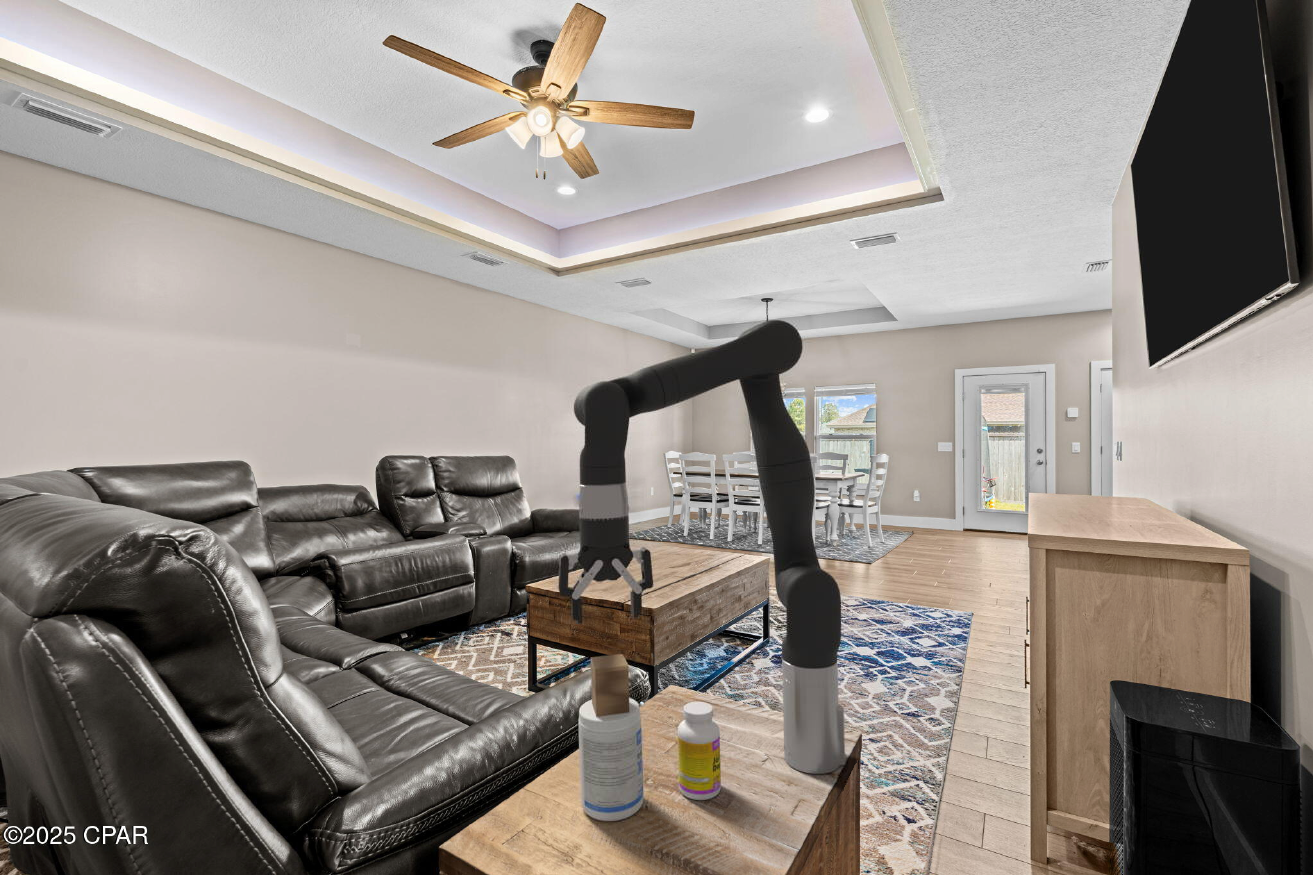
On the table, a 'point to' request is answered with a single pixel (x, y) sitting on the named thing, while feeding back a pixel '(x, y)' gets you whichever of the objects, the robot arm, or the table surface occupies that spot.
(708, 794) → the supplement bottle
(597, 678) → the walnut block
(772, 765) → the table surface
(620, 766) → the supplement tub
